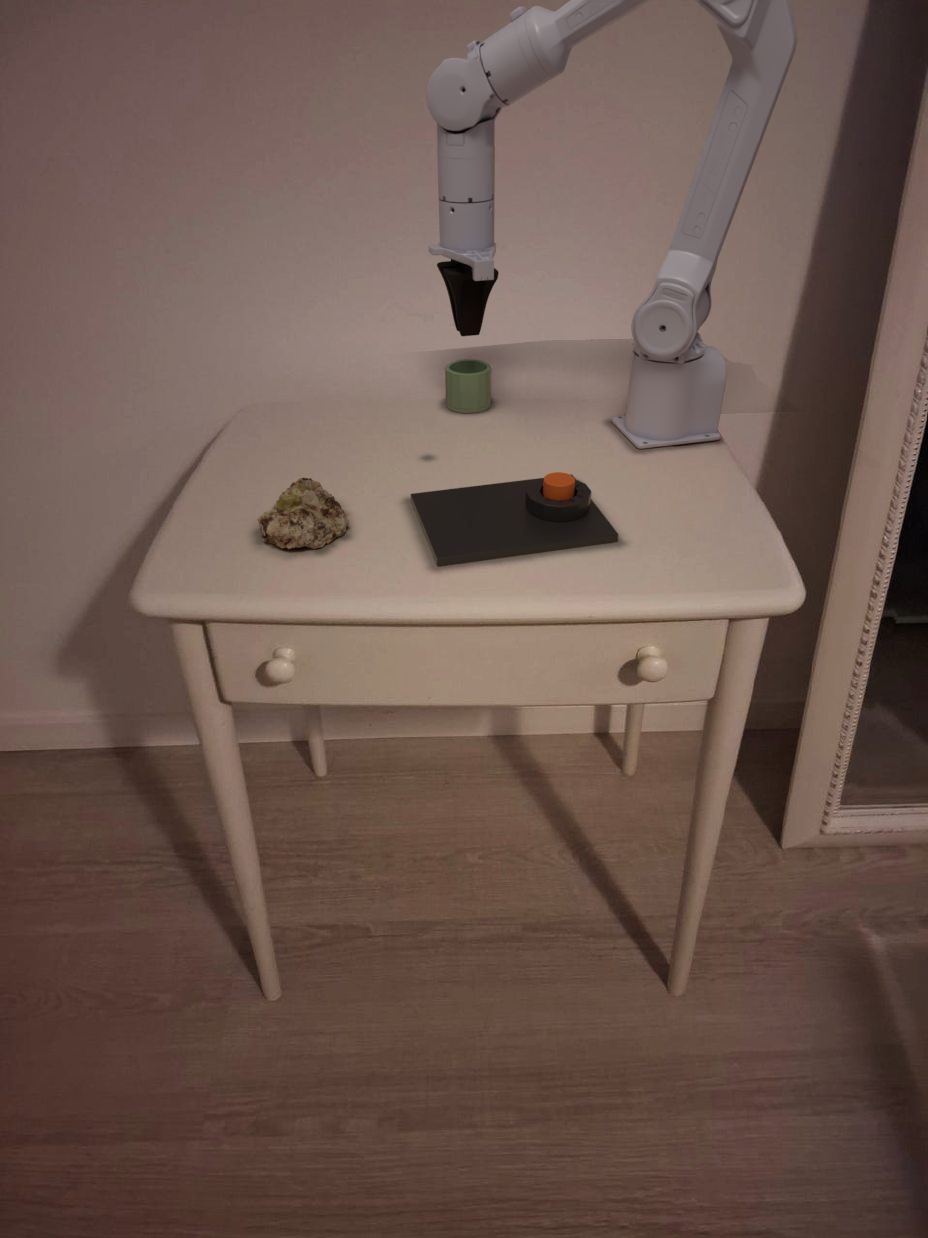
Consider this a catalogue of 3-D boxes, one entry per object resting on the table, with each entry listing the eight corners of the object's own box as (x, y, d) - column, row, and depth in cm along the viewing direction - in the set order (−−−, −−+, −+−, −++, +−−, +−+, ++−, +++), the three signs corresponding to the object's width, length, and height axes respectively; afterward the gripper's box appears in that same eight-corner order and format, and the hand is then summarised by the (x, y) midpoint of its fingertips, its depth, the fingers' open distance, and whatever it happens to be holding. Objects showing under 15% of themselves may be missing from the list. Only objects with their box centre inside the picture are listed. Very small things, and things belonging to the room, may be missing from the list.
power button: (568, 485, 79) (569, 470, 78) (578, 499, 77) (579, 483, 76) (538, 489, 79) (539, 473, 78) (548, 503, 77) (549, 487, 76)
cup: (484, 394, 104) (484, 357, 101) (495, 410, 100) (496, 372, 97) (441, 398, 103) (440, 361, 100) (451, 415, 99) (450, 376, 96)
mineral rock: (347, 531, 73) (251, 509, 71) (338, 574, 75) (245, 554, 74) (359, 477, 82) (274, 457, 80) (350, 517, 84) (267, 498, 83)
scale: (571, 482, 85) (573, 458, 83) (617, 542, 75) (620, 517, 74) (410, 502, 82) (409, 477, 80) (437, 567, 72) (436, 541, 71)
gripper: (414, 188, 93) (419, 316, 101) (443, 214, 82) (446, 356, 90) (478, 184, 95) (478, 311, 103) (515, 209, 83) (512, 350, 91)
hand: (467, 332), depth 96 cm, fingers closed
